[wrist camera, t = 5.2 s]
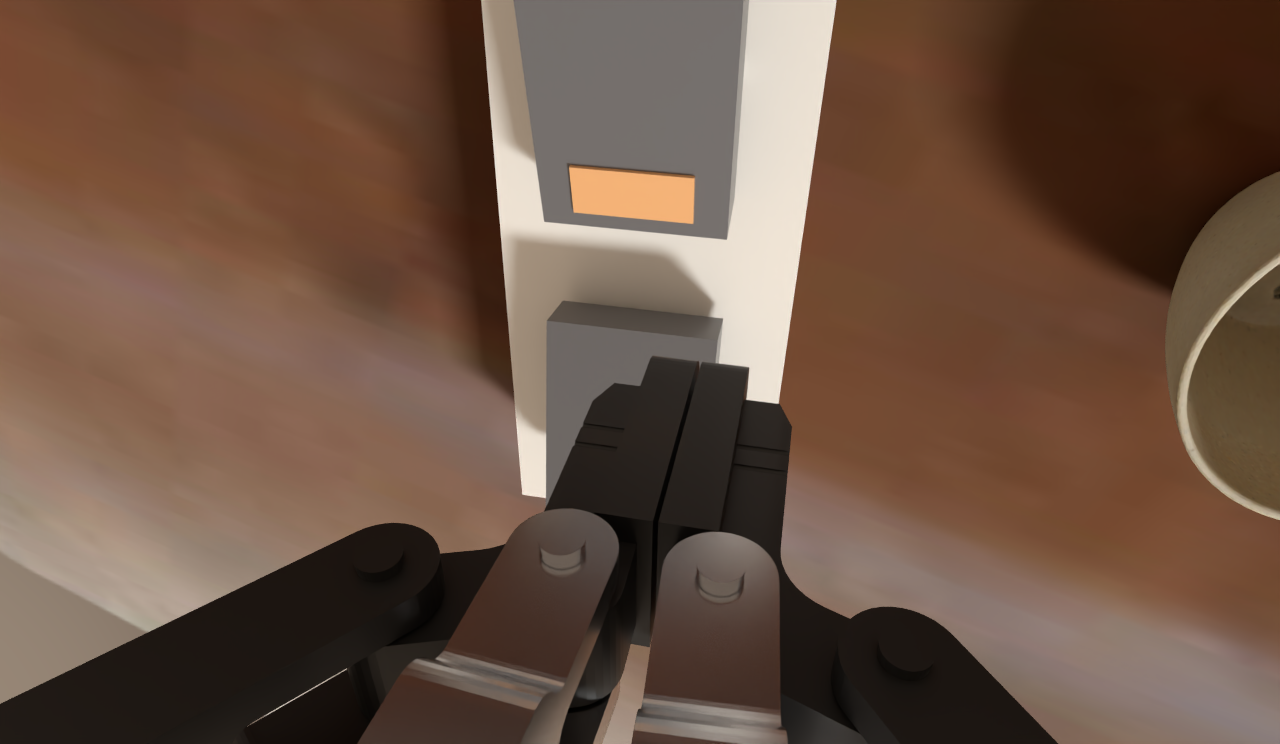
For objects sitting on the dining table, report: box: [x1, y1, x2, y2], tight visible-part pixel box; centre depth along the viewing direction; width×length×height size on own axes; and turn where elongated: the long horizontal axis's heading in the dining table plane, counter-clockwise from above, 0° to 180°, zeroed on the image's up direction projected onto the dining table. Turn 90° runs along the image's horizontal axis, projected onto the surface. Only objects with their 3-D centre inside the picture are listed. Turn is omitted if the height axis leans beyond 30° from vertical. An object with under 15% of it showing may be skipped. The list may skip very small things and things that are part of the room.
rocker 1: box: [513, 0, 749, 240], centre depth 20 cm, size 5×7×2 cm
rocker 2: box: [546, 301, 723, 506], centre depth 26 cm, size 5×7×2 cm
